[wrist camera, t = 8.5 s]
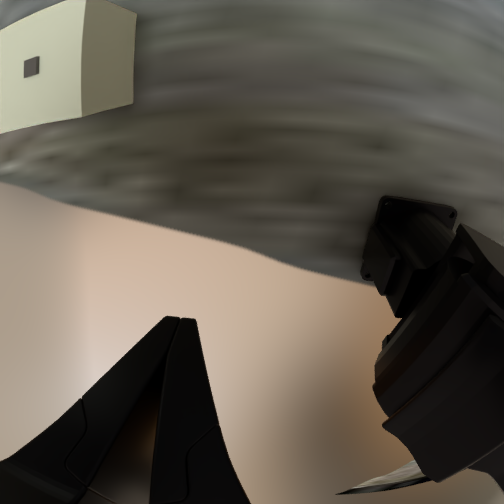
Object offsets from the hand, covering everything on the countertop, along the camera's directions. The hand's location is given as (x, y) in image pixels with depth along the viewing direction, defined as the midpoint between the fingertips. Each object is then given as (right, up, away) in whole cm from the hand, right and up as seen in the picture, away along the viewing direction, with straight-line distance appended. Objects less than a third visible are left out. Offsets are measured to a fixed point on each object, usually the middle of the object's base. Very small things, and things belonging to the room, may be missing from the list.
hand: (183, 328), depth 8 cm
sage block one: (-8, +14, +6) cm, 17 cm away
